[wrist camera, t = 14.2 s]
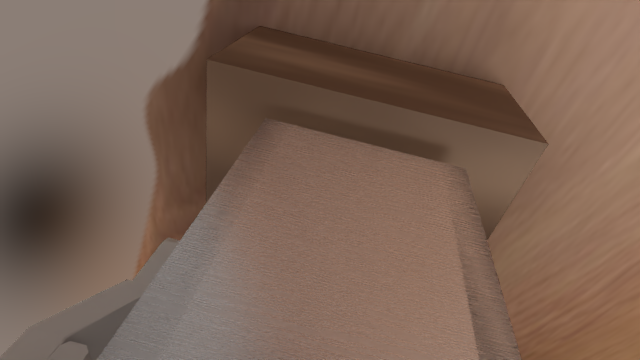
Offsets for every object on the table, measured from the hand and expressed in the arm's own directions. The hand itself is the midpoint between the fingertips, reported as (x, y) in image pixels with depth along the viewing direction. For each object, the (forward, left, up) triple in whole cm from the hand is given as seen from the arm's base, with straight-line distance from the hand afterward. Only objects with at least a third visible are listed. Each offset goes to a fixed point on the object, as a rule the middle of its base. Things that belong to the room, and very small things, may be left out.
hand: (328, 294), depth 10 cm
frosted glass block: (0, 0, -4) cm, 4 cm away
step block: (-2, 0, -11) cm, 11 cm away
